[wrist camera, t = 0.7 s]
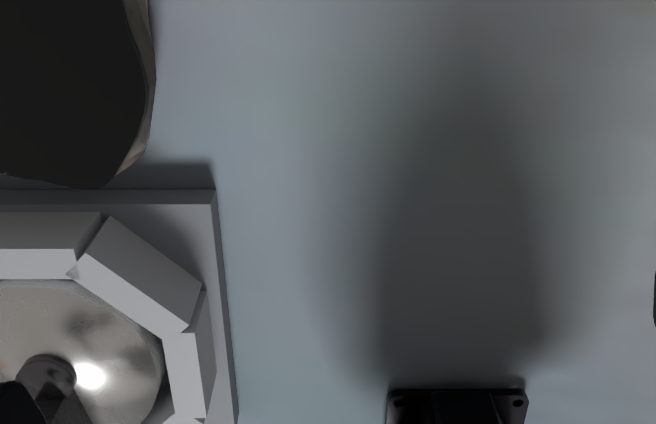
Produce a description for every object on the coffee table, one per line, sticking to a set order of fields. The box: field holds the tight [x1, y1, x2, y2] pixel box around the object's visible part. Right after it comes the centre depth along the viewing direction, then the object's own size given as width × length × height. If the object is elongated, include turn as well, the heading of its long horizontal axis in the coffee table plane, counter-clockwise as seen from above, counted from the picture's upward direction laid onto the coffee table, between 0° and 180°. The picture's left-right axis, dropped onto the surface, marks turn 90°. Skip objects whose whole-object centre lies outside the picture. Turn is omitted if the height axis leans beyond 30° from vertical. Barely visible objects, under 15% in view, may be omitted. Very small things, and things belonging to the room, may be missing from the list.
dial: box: [0, 279, 167, 424], centre depth 21 cm, size 8×8×6 cm
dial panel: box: [0, 189, 239, 424], centre depth 23 cm, size 12×12×4 cm
